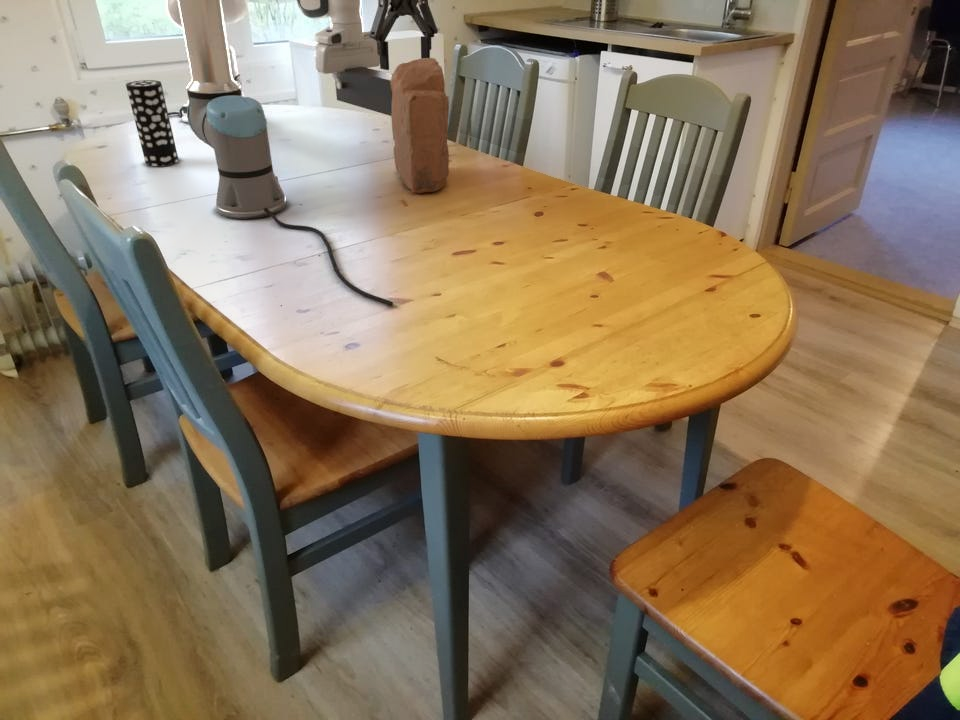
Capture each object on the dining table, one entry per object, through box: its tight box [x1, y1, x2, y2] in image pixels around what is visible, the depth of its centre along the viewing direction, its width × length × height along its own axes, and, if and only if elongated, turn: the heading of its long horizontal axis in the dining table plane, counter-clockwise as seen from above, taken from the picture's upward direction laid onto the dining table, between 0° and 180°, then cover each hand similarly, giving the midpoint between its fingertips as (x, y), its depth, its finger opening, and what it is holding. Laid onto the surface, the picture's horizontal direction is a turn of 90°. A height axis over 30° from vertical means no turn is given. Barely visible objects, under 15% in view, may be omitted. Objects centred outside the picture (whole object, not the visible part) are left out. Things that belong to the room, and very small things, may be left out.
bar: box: [334, 67, 393, 117], centre depth 191 cm, size 27×6×9 cm, turn 45°
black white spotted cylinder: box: [125, 79, 179, 167], centre depth 181 cm, size 8×8×20 cm
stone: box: [390, 57, 450, 194], centre depth 168 cm, size 22×11×28 cm, turn 18°
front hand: (405, 66), depth 179 cm, fingers open, 13 cm apart
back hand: (350, 86), depth 197 cm, fingers closed on bar, 6 cm apart
